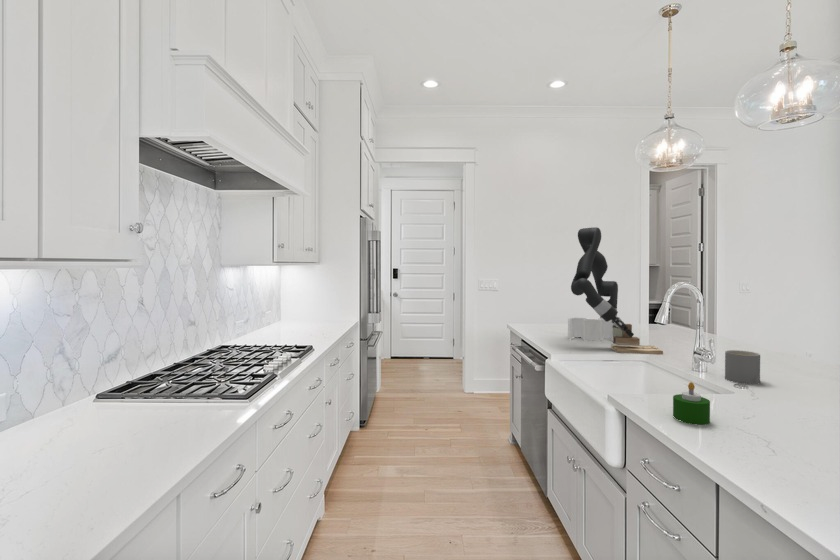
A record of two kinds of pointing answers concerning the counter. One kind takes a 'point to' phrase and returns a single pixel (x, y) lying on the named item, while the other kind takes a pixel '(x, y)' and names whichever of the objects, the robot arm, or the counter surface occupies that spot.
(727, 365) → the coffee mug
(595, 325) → the pale grey segmented block
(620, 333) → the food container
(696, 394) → the candle
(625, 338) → the block
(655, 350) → the oak board
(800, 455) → the counter surface
